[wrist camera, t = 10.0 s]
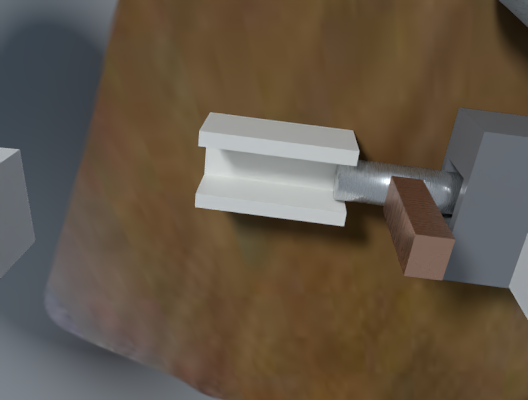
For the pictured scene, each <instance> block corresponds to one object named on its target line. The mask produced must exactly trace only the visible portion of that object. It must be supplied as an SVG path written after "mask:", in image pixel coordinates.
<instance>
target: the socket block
mask: <svg viewBox="0 0 528 400" xmlns="http://www.w3.org/2000/svg"><path fill="white" fill-rule="evenodd" d="M441 170H442V171H450V172H458V173H460V174H461V175H462V177H463V178H464V180H463V183H462V186H461V189H460V193H459V196H458V199H457V202H456V205H455V208H454V212H453V215H452V214H444V213H441V214H442V216H443V218H444V219H445V221H446V223H447V225H448V227H449V229H450V230H451V232H452V234H453V236H454V238H455V243H454V246H453V249H452V252H451V255H450V258H449V261H448V264H447V267H446V270H445V273H444V276H443V279H442V280H449V281H457V282H464V283H472V284H479V285H487V286H495V287H502V288H509V284H510V282H511V279H512V276H513V273H514V270H515V267H516V265H517V262H518V259H519V256H520V253H521V250H522V248H523V245H524V242H525V239H526V236H527V233H528V116H521V115H513V114H506V113H498V112H490V111H482V110H474V109H466V108H459V110H458V114H457V117H456V120H455V124H454V127H453V131H452V134H451V138H450V141H449V145H448V148H447V151H446V155H445V158H444V162H443V165H442V169H441Z"/></svg>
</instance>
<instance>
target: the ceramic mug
mask: <svg viewBox="0 0 528 400" xmlns="http://www.w3.org/2000/svg"><path fill="white" fill-rule="evenodd" d="M499 1H500V2H501V3H502V4H503V5H505V6H506V7H507V8H508V9H509V10H510V11H511V12H512V13H513V14H514V15H515V16H516V17H517V18H519V19H520V20H521V21H522V22H523V23H524V24H525V25H526V26H527V27H528V0H499Z"/></svg>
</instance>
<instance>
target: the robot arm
mask: <svg viewBox="0 0 528 400" xmlns="http://www.w3.org/2000/svg"><path fill="white" fill-rule="evenodd" d="M34 242H35V236H34V230H33V224H32V219H31V213H30V207H29V201H28V195H27V190H26V184H25V178H24V172H23V166H22V161H21V155H20V150H19V149H9V148H0V278H1V277H2V276H3V275H4V274H5V273H6V272H7V271H8V270H9V269H10V268H11V267H12V265H13V264H14V263H15V262H16V261H17V260H18V259H19V258H20V257H21V256H22V255H23V254H24V253H25V251H26V250H27V249H28V248H29V247H30V246H31V245H32V244H33V243H34ZM509 288H510V290H511V292H512V294H513V295H514V297H515V299H516V300H517V302H518V304H519V305H520V307H521V309H522V311H523V312H524V314H525V316H526V317H527V319H528V233H527V236H526V239H525V242H524V245H523V248H522V250H521V253H520V256H519V259H518V262H517V265H516V267H515V270H514V273H513V276H512V279H511V282H510V284H509Z"/></svg>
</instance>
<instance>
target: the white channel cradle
mask: <svg viewBox="0 0 528 400" xmlns="http://www.w3.org/2000/svg"><path fill="white" fill-rule="evenodd" d="M198 146H202V147H206V159H205V174H204V176H203V178H202V181H201V183H200V185H199V187H198V190H197V192H196V198H195V207H199V208H207V209H214V210H222V211H230V212H237V213H245V214H253V215H260V216H268V217H276V218H284V219H291V220H299V221H307V222H314V223H322V224H330V225H337V226H344V223H345V219H346V214H347V212H346V207H345V201H344V200H336V199H334V198H333V185H334V177H335V171H336V166H337V164H342V165H350V166H357V161H358V156H359V152H360V151H359V148H358V145H357V141H356V138H355V135H354V132H353V130H345V129H337V128H329V127H322V126H314V125H306V124H298V123H290V122H283V121H275V120H267V119H259V118H251V117H243V116H236V115H228V114H220V113H212V112H210V114H209V115H208V117H207V119H206V120H205V122H204V124H203V125H202V127H201V129H200V131H199V145H198Z"/></svg>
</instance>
